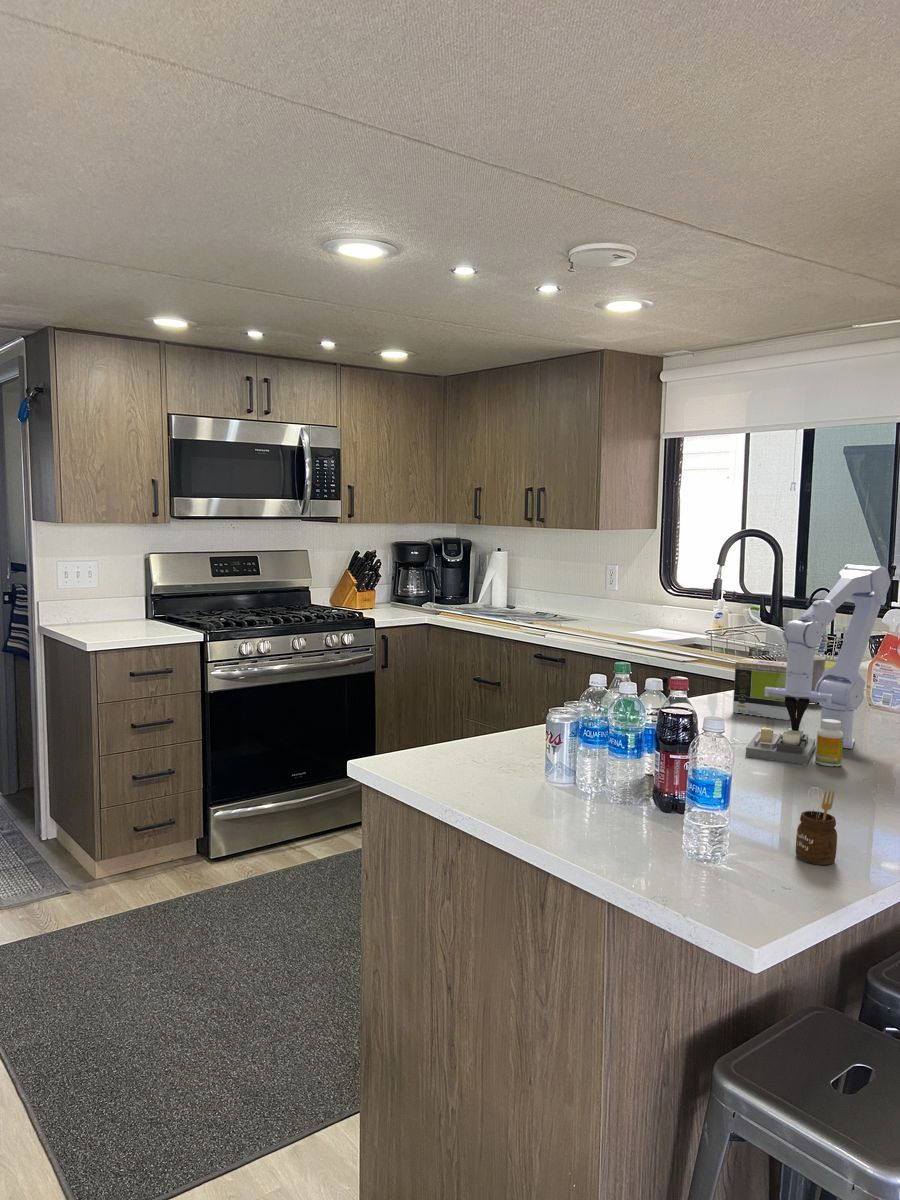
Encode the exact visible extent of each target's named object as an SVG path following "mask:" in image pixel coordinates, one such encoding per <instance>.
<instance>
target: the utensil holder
mask: <svg viewBox="0 0 900 1200" xmlns="http://www.w3.org/2000/svg"><path fill="white" fill-rule="evenodd" d="M815 788H816V790H817V791H816V792H817V800H820V798H819V797H820V795H819V789H818V787H817V786H813V787H811V788H810V789H809V790H808V792H807V798H809V796H810V795H809V794H810V791H811V790H812V792H811V793H814V790H815ZM820 791H821V794H822V795H821V796H822V797H821V798H822V803H821V809H820V811H819V808H820V805H819V804H817V811H816V810H814V809H812V810H811V809H810V808H811V807H810V803H809V802H810V801H807V804H808V807H809V810H805V811H803V812H801V814H800V817H799V821H800V823H799V824H798V826H797V828H796V829H797V830H796V839H795V855H796V857H797V859H799V860H800V861H802V862H804V863H808V864H811V865H817V866H829V865H832V864H834V863H835V861H836V857H837V847H838V833H837V830H836V826H837V819H836V817H835V816H833V815H832V814H829V813H828V811H830V810H832V808H833V804H834V800H835V799H834V797H835V795H836V794H835V791H832V792H831V791H830V790H829V791H827V790H826V791H824V793H823V792H822V790H820ZM831 793H832V794H831ZM811 804H812V807H814V802H811ZM822 810H823V811H822Z"/></svg>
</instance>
